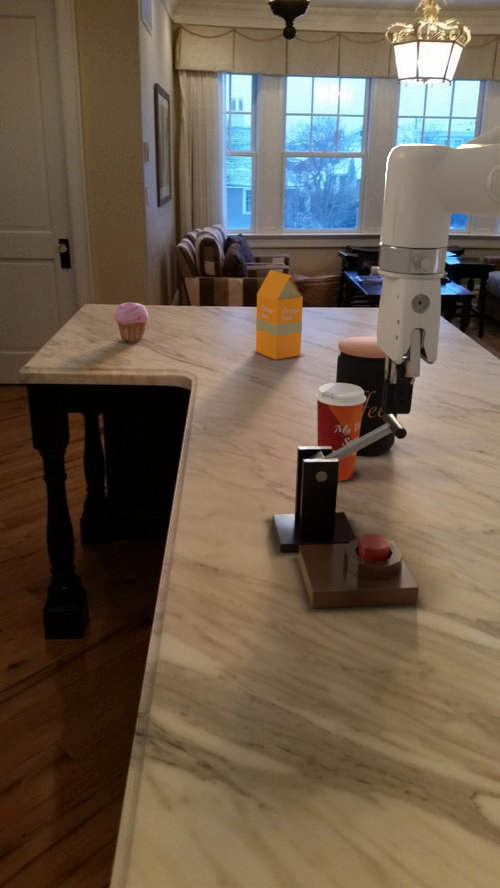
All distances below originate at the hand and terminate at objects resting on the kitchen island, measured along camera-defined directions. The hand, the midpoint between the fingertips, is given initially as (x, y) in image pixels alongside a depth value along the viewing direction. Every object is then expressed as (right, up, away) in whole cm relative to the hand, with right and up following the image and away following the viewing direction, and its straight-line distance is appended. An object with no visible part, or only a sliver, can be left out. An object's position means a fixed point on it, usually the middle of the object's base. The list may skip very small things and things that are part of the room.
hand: (395, 411), depth 88 cm
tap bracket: (-10, -16, +6) cm, 20 cm away
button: (-4, -17, -5) cm, 18 cm away
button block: (-6, -20, -4) cm, 22 cm away
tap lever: (-5, -5, +2) cm, 7 cm away
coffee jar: (+1, -4, +35) cm, 35 cm away
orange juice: (-11, +18, +89) cm, 92 cm away
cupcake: (-49, +23, +99) cm, 114 cm away
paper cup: (-5, -9, +24) cm, 26 cm away
